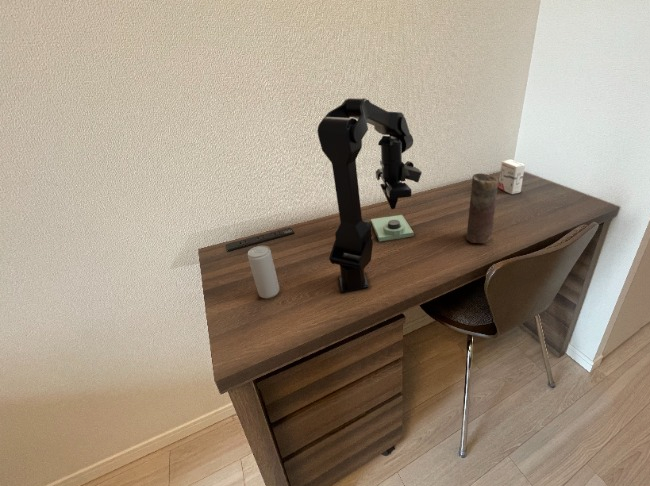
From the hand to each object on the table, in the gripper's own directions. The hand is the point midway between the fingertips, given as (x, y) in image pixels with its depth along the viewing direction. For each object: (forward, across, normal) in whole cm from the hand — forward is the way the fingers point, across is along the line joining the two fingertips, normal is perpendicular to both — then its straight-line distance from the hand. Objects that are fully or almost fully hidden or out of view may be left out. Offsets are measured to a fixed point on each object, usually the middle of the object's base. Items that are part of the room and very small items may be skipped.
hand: (393, 208), depth 97 cm
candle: (+9, -10, -24) cm, 28 cm away
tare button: (+6, 0, 0) cm, 6 cm away
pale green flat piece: (+9, +4, 0) cm, 10 cm away
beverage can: (+9, -18, +36) cm, 41 cm away
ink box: (+9, +22, -55) cm, 60 cm away
